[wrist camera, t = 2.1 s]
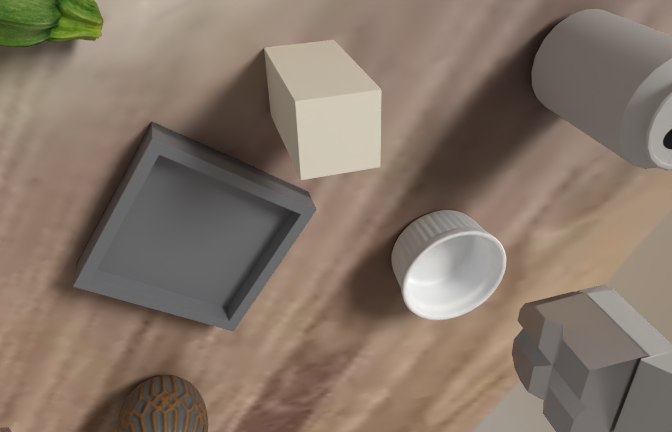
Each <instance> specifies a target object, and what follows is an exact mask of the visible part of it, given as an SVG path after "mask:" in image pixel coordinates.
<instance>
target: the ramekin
mask: <svg viewBox="0 0 672 432" xmlns="http://www.w3.org/2000/svg"><path fill="white" fill-rule="evenodd" d="M391 263H392V267H393V271H394V274H395V276H396V278H397V281H398V283H399V285H400V288H401V293H402V297H403V300H404V302H405V304H406V306H407V307H408V309H409V310H410V311H411V312H413V313H414V314H416V315H417V316H419V317H422V318H425V319H429V320H444V319H450V318H454V317H457V316H460V315H463V314H465V313H467V312H469V311H471V310H473V309H474V308H476V307H478V306H479V305H480V304H482V303H483V302H484V301H485V300H486V299H487V298H488V297H489V296H490V295H491V294H492V293H493V292H494V291H495V289H496V288H497V286H498V285H499V283H500V281H501V280H502V277H503V275H504V272H505V267H506V254H505V250H504V248H503V246H502V244H501V243H500V242H499V241H498V240H497V239H496V238H495V237H494V236H492V235H491V234H489V233H488V232H486V231H485V230H484V229H483V228H481V227H480V226H479V225H478V224H477V223H476V222H475V221H474V220H473V219H472V218H470V217H469V216H467V215H466V214H464V213H461V212H458V211H453V210H441V211H436V212H432V213H429V214H426V215H424V216H422V217H420V218H418V219H417V220H415V221H413V222H412V223H411V224H410V225H409V226H408V227H407V228H406V229H405V230H404V231H403V232H402V233H401V234H400V236H399V237H398V239H397V241H396V242H395V245H394V247H393V251H392V257H391Z"/></svg>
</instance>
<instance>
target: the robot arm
mask: <svg viewBox="0 0 672 432" xmlns="http://www.w3.org/2000/svg"><path fill="white" fill-rule="evenodd" d="M518 322H519V323H520V324H521V326H522V327H523V329H522V331H521V332H520V333H519V334H518V335H517V336H516V338H515V339H514V343H513V350H512V356H513V361H514V366H515V370H516V372H517V374H518V376H519V379H520V381H521V382H522V384H523V385H524V387H525V388H526V390H527V391H528V392H529V393H531V394H533V395H535V396H537V397H538V398H540V399H542V400H544V403H543V414H544V415H545V417H546V418H547V420H548V421H549V422H550V424H551V425H552V427H553V428H554V430H555V431H556V432H672V345H671V344H670V343H669V342H668V341H667V340H666V339H665V338H664V337H663V336H662V335H661V334H660V333H659V332H658V331H657V330H656V329H655V328H654V327H653V326H651V325H650V324H649V323H648V322H647V321H646V320H645V319H644V318H643V317H642V316H641V315H640V314H639V313H638V312H637V311H636V310H635V309H633V308H632V307H631V306H630V305H629V304H628V303H627V302H626V301H625V300H624V299H623V298H622V297H621V296H620V295H619V294H618V293H617V292H615V290H613V289H612V288H610V287H608V286H606V285H600V286H596V287H592V288H588V289H583V290H579V291H577V292H570V293H566V294H562V295H558V296H554V297H550V298H546V299H542V300H538V301H534V302H530V303H525V304H524V305H523V307H522V308H521V309H520V312H519V317H518ZM0 432H11V430H10V429H9V427H8V428H0Z"/></svg>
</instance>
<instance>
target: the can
mask: <svg viewBox="0 0 672 432" xmlns="http://www.w3.org/2000/svg"><path fill="white" fill-rule="evenodd" d="M531 73H532V88H533V90H534V93H535V95H536V97H537V99H538V100H539V101H540V102H541V103H542V104H543V105H544V106H545V107H546V108H548V109H549V110H551V111H553V112H554V113H556V114H557V115H559V116H560V117H562V118H563V119H565V120H566V121H568V122H569V123H571V124H572V125H574V126H575V127H577V128H578V129H580V130H581V131H583V132H584V133H586V134H587V135H589V136H590V137H592V138H593V139H595V140H596V141H598V142H599V143H601V144H602V145H604V146H605V147H607V148H608V149H610V150H611V151H613V152H614V153H616V154H617V155H619V156H620V157H622V158H623V159H625V160H626V161H628V162H629V163H631V164H632V165H635V166H638V167H642V168H645V169H647V168H657V167H658V168H661V169H664V170H672V36H671V35H668V34H666V33H663V32H660V31H658V30H655V29H652V28H650V27H647V26H644V25H642V24H639V23H636V22H634V21H631V20H628V19H625V18H623V17H620V16H617V15H615V14H612V13H609V12H607V11H604V10H601V9H586V10H583V11H580V12H577V13H575V14H572V15H570V16H569V17H567V18H566V19H564V20H563V21H562V22H560V23H559V24H557V25H556V26H555V27H554V28H553V30H552V31H551V32H550V33H549V34H548V35H547V37H546V38H545V39H544V40H543V42H542V44H541V46H540V48H539V50H538V52H537V54H536V56H535V60H534V64H533V68H532V72H531Z"/></svg>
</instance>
